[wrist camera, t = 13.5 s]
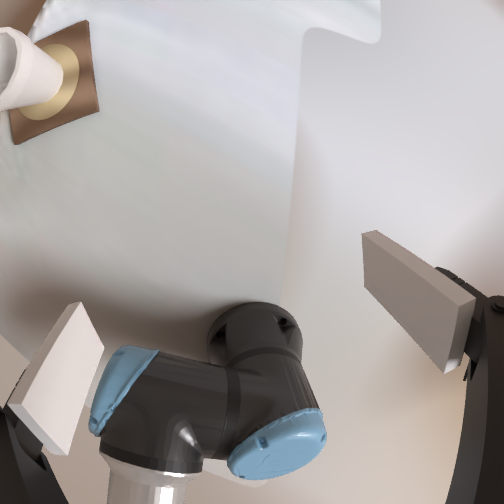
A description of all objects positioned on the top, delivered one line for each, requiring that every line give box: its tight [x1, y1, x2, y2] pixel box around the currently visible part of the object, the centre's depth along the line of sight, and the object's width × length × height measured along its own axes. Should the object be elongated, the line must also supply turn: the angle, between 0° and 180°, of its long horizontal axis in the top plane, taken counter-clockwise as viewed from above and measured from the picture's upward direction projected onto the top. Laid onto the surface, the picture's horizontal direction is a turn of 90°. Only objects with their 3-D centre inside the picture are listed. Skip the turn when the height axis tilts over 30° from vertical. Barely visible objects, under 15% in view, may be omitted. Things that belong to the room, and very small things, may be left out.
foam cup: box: [0, 27, 63, 112], centre depth 23 cm, size 10×9×13 cm
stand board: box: [9, 20, 99, 145], centre depth 30 cm, size 14×14×2 cm
